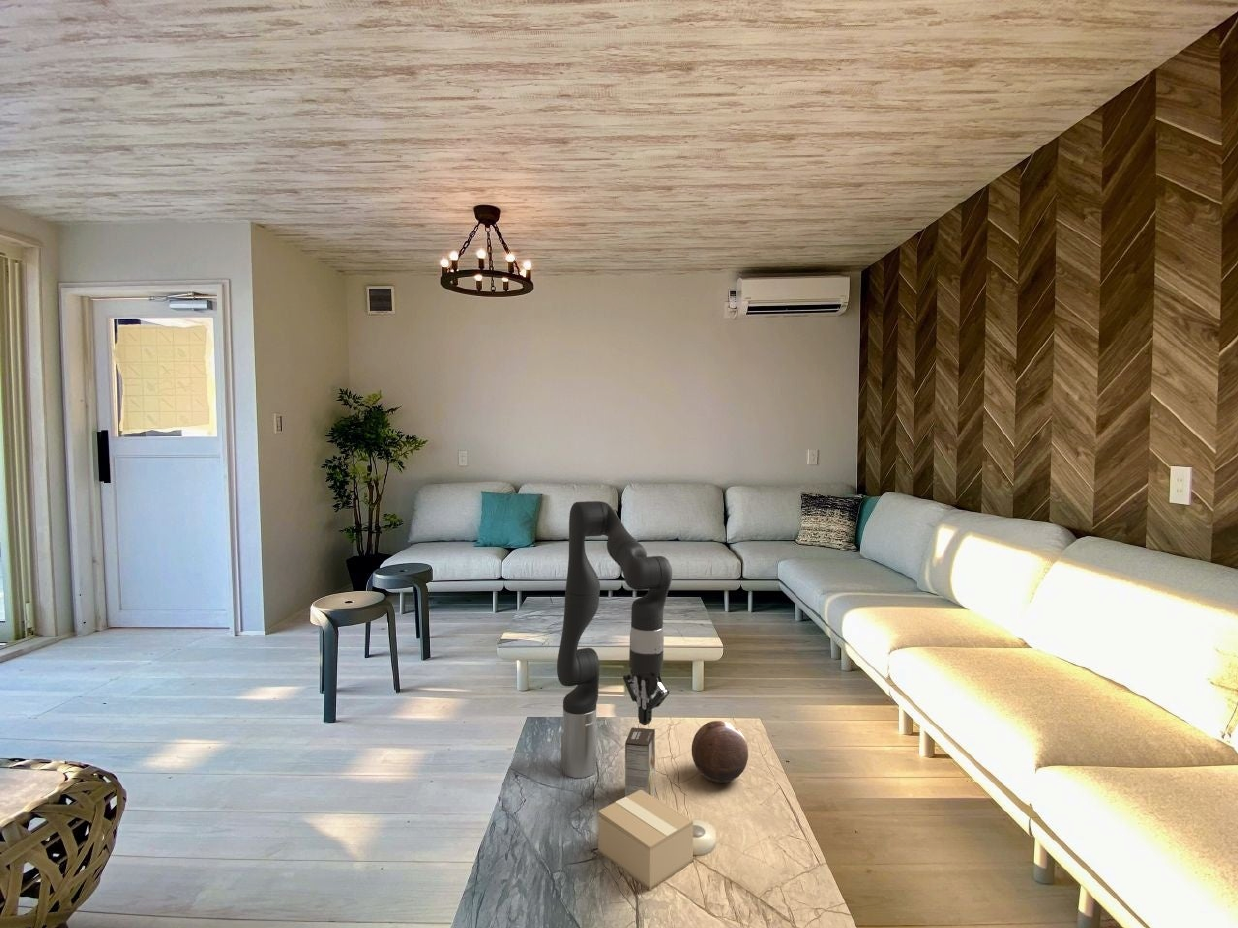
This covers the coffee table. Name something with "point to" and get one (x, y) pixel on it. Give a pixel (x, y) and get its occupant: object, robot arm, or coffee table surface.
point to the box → (645, 854)
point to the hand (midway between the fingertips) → (644, 723)
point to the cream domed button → (703, 838)
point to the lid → (645, 819)
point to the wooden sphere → (719, 751)
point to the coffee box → (640, 761)
